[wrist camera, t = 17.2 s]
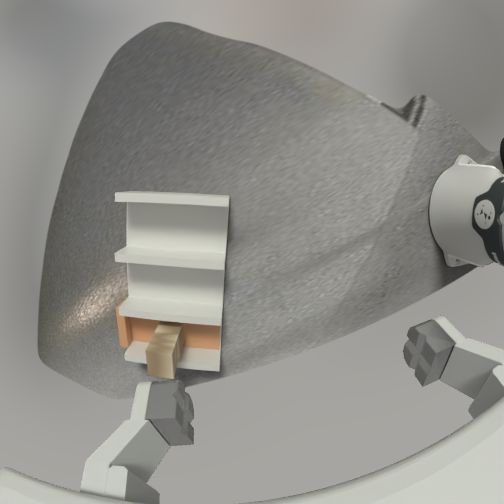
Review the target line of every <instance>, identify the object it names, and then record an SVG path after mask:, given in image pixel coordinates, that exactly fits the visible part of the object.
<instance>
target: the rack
mask: <svg viewBox="0 0 504 504" xmlns="http://www.w3.org/2000/svg"><path fill="white" fill-rule="evenodd" d="M115 202H127V246H126V247H124V248H123V249H121V250H119V251H118V252H116V253H115V262H126V263H127V273H128V292H129V297H128V298H127V299H124V300H123V301H122V302H121V303H120V304H119V305H118V307H117V308H116V314H117V323H118V331H119V338H120V345H121V347H127V348H128V349H127V351H126V353H125V354H124V355H125V360H126V361H132V362H139V363H145V364H147V360H146V352H145V351H146V349H147V347H148V345H149V343H150V341H151V339H152V336H153V334H154V332H155V330H156V328H157V326H158V325H159V323H160V321H170V322H180V323H185V341H184V345H183V348H182V352H181V355H180V359H179V362H178V366H177V368H185V369H195V370H207V371H219V369H220V354H221V332H222V312H223V293H224V275H225V259H226V244H227V229H228V215H229V202H230V196H225V195H210V194H192V193H170V192H138V191H129V192H118V193H115Z"/></svg>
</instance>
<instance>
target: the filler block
mask: <svg viewBox="0 0 504 504" xmlns="http://www.w3.org/2000/svg"><path fill="white" fill-rule="evenodd" d="M184 341H185V323H180V322H170V321H160V323H159V325H158V326H157V328H156V330H155V332H154V334H153V336H152V339H151V341H150V343H149V345H148V347H147V349H146V351H145V352H146V360H147V368H148V375H149V376H155V377H162V378H170V379H174V376H175V373H176V369H177V366H178V362H179V359H180V355H181V352H182V348H183V345H184Z"/></svg>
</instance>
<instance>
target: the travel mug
mask: <svg viewBox="0 0 504 504" xmlns="http://www.w3.org/2000/svg"><path fill="white" fill-rule="evenodd" d="M500 154H501V159H502V162H503V165H504V138H503V139H502V141H501V147H500Z"/></svg>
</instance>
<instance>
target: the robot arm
mask: <svg viewBox="0 0 504 504" xmlns="http://www.w3.org/2000/svg"><path fill="white" fill-rule="evenodd" d="M429 215H430V225H431V229H432V233H433V235H434V238H435V240H436V242H437V243H438V245H439V246H440V247H441V249H442V250H443V253H444V257H445V261H446V264H447V265H448V266H450V267H456V266H461V265H465V264H469V263H470V264H473V265H476V266H479V267H484V265H488V264H491V263H493V262H496V263H499V264H500V265H502V266H504V174H501V173H500V170H498V169H496V168H495V167H494V166H488V165H478V164H477V163H476V162H474V161H473V160H472V159H471V158H469V157H468V156H466V155H459V156H458V158H457V159H456V161H455V163H454V165H453V166H452V167H450V168H449V169H447V170H446V171H444V172H443V173H442V174H441V175H440V177H439V178H438V180H437V181H436V183H435V186H434V188H433V191H432V195H431V199H430V209H429ZM407 336H408V338H409V340H408V341H407V342H406V343H405V346H404V350H403V352H404V359H405V361H406V363H407V364H408V366H409V367H410V368H413V369H415V376H416V378H417V379H418V380H419V382H420V383H421V385H422V386H425V385H428V384H430V383H432V382H434V381H436V380H438V379H440V380H441V381H442V382H444V383H446V384H448V385H449V386H451V387H453V388H455V389H457V390H459V391H460V392H462V393H464V394H466V395H467V396H469V397H471V398H473V399H475V400H474V401H473V403H472V404H471V406H470V407H469V413H470V414H471V416H472V417H473V420H472V421H470V422H469V423H467V424H466V425H464V426H463V427H461V428H460V429H458V430H457V431H455V432H453V433H451V434H450V435H449V436H447V437H445V438H443V439H441V440H440V441H438V442H436V443H434V444H433V445H431V446H429V447H427V448H425V449H423V450H421V451H419V452H417V453H415V454H413V455H411V456H409V457H407V458H405V459H403V460H401V461H399V462H396V463H394V464H392V465H389V466H387V467H385V468H383V469H380V470H377V471H375V472H372V473H369V474H367V475H364V476H361V477H359V478H356V479H353V480H350V481H347V482H343V483H340V484H337V485H334V486H331V487H327V488H323V489H320V490H315V491H311V492H307V493H303V494H299V495H294V496H289V497H283V498H278V499H272V500H266V501H258V502H250V503H241V504H504V350H502V349H499V348H497V347H494V346H491V345H487V344H485V343H482V342H479V341H476V340H473V339H470V338H468V339H466V338H465V337H464V336H463V335H462V334H461V333H460V332H459V331H458V330H457V329H456V328H455V327H454V326H453V325H452V324H451V323H450V322H449V321H448V320H447V319H446V318H445V317H444V316H438V317H436V318H434V319H431V320H428V321H426V322H423V323H421V324H418V325H416V326H413V327H411V328H410V329H409V330H408V334H407ZM193 419H194V409H193V403H192V400H191V397H190V395H189V394H188V393H186V392H185V385H184V384H183V382H182V380H172V381H153V382H139V384H138V385H137V387H136V392H135V397H134V401H133V406H132V411H131V416H130V420H125V421H124V422H123V423H122V424H121V426H119V428H118V429H117V430H116V431H115V432H114V433H113V434H112V435H111V436H110V437H109V438H108V439H107V440H106V441H105V442H104V443H103V444H102V445H101V446H100V447H99V448H98V449H97V450H96V451H95V452H94V453H93V454H92V455H91V456H90V457H89V458H88V459H87V460H86V464H85V468H84V473H83V478H82V483H81V489H80V492H78V491H73V490H70V489H67V488H63V487H59V486H57V485H53V484H50V483H47V482H44V481H41V480H38V479H36V478H33V477H31V476H28V475H25V474H23V473H21V472H18V471H16V470H13V469H11V468H6V467H5V468H2V469H0V504H159V493H158V492H157V491H156V490H155V489H153V488H152V487H151V486H149V485H148V484H146V483H147V481H148V480H149V478H150V477H151V475H152V474H153V472H154V471H155V469H156V468H157V466H158V465H159V464H160V462H161V461H162V459H163V458H164V456H165V455H166V453H167V452H168V450H169V449H170V446H177V445H191V444H194V442H193V441H194V428H193V427H192V425H191V424H190V423H191V421H192V420H193Z"/></svg>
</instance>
